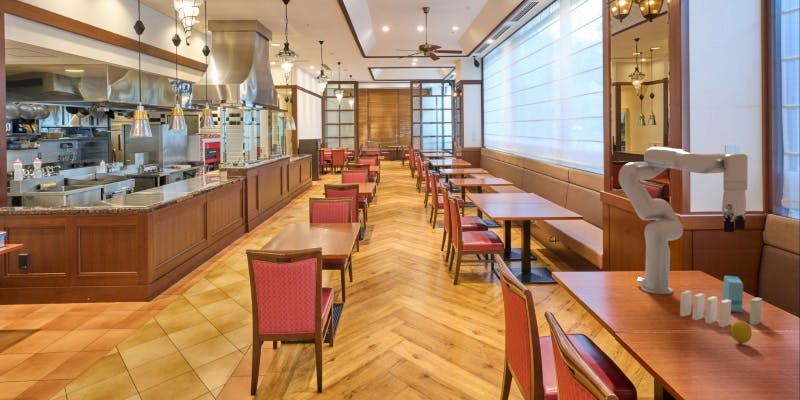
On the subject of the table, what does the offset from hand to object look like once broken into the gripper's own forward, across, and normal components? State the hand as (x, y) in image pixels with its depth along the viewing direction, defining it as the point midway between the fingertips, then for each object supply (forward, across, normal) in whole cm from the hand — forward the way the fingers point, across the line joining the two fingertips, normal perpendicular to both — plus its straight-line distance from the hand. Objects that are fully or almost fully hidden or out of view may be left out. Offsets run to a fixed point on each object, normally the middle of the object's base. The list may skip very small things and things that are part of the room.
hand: (734, 230), depth 186 cm
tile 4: (+32, +18, +4) cm, 37 cm away
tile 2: (+32, +18, -5) cm, 37 cm away
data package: (+32, -4, -2) cm, 32 cm away
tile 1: (+32, +18, -10) cm, 38 cm away
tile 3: (+32, +18, 0) cm, 37 cm away
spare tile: (+32, +7, +10) cm, 35 cm away
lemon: (+33, +32, +14) cm, 48 cm away
